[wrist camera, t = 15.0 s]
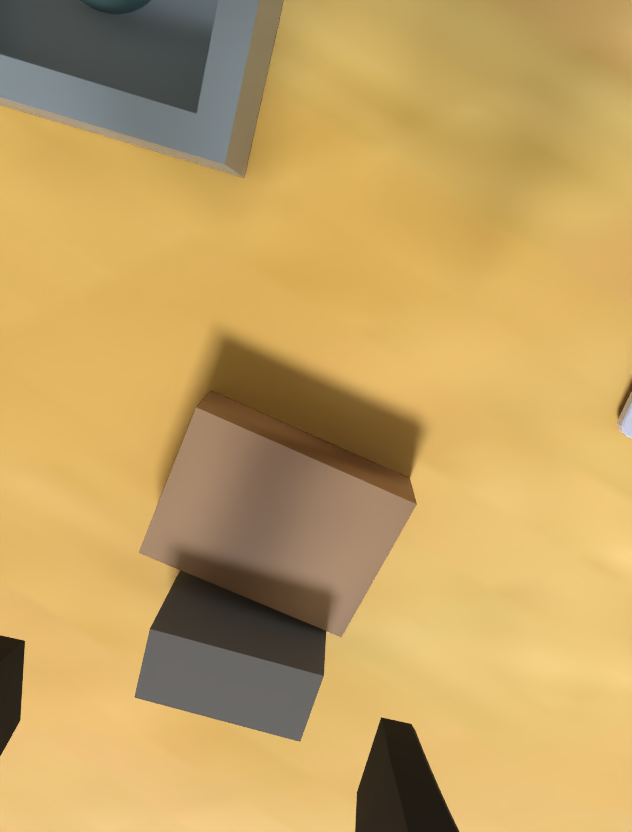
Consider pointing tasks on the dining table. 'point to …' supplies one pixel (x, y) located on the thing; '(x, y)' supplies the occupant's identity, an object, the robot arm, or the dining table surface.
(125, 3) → the dowel
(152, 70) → the tray
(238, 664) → the dark grey block
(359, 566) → the tan cardboard box
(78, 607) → the dining table surface
